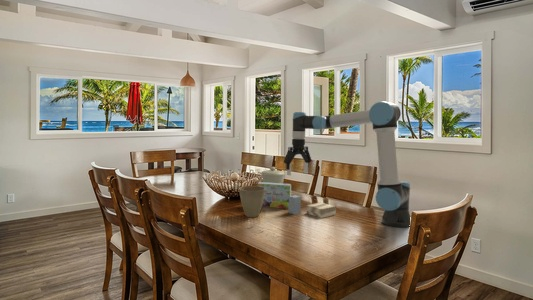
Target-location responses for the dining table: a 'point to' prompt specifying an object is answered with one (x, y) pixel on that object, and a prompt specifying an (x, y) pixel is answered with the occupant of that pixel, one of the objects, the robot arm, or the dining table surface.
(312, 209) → the maple riser
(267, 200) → the snack box
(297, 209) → the slate-blue block
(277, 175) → the canister
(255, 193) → the plant pot
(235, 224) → the dining table surface
